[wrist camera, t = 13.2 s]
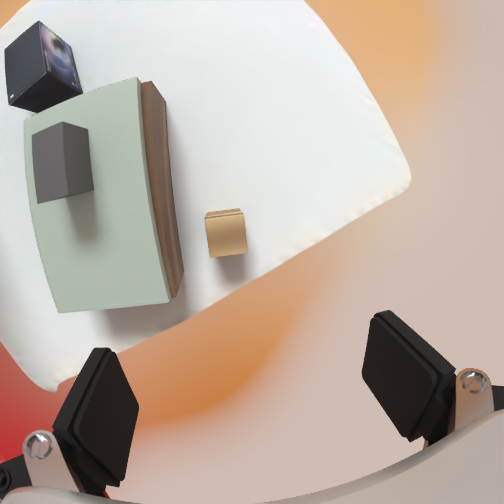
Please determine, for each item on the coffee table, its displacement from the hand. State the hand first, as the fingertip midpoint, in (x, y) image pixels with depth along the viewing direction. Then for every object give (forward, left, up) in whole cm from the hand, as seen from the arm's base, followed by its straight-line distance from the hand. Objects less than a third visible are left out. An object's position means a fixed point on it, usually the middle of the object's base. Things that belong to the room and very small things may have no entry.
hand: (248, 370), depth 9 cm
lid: (-14, +6, -18) cm, 23 cm away
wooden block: (0, 0, -26) cm, 26 cm away
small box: (-22, +25, -26) cm, 42 cm away
